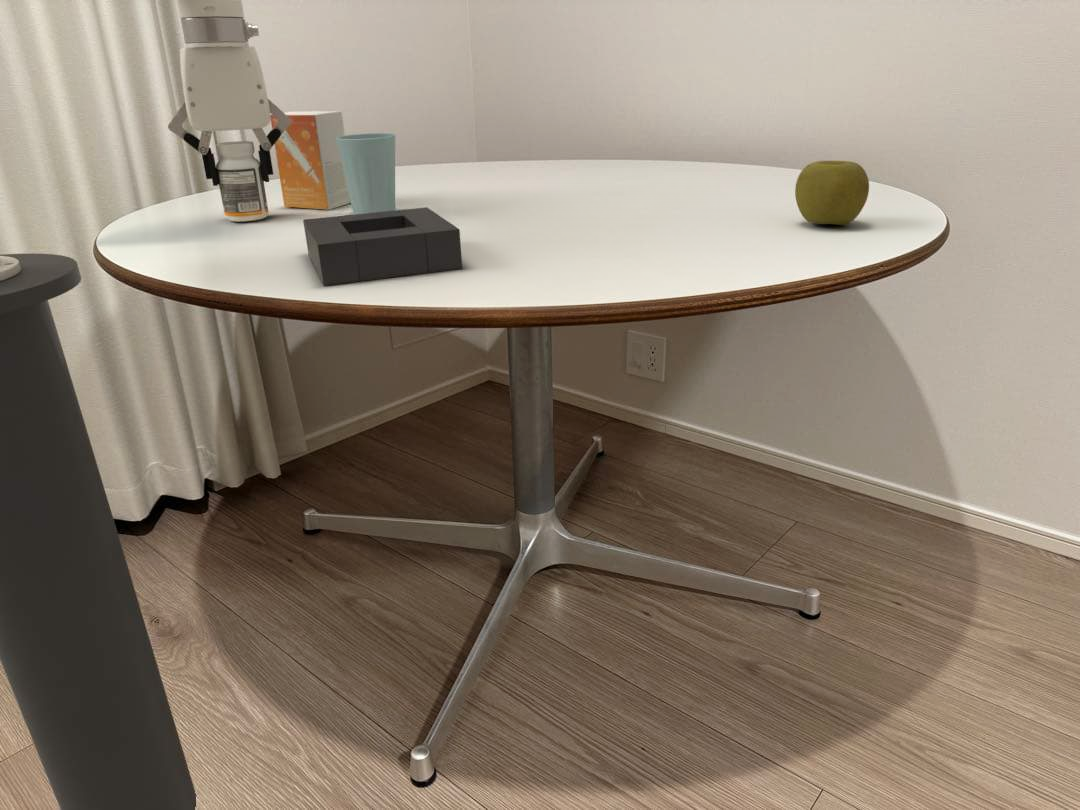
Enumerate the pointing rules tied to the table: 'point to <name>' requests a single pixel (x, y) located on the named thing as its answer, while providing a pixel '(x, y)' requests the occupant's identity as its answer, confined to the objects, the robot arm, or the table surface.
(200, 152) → the robot arm
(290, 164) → the small box
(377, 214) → the dock
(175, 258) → the table surface
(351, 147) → the cup
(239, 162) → the pill bottle
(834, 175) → the apple
